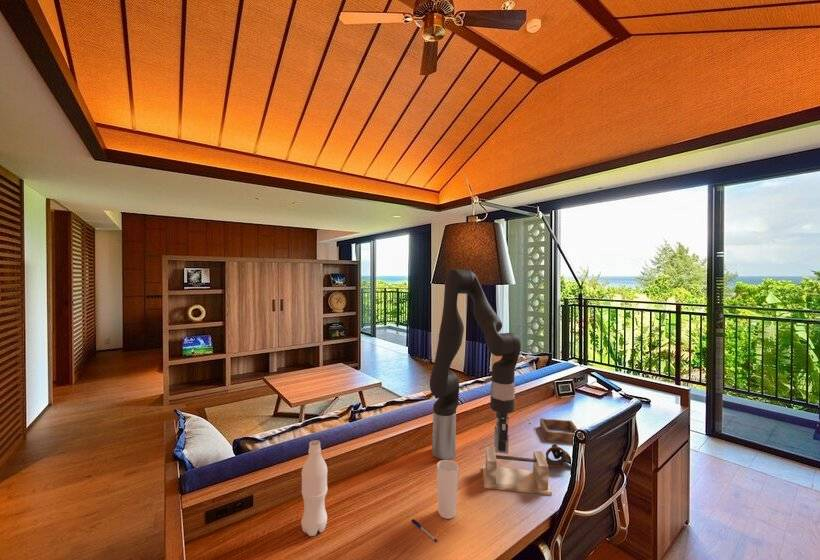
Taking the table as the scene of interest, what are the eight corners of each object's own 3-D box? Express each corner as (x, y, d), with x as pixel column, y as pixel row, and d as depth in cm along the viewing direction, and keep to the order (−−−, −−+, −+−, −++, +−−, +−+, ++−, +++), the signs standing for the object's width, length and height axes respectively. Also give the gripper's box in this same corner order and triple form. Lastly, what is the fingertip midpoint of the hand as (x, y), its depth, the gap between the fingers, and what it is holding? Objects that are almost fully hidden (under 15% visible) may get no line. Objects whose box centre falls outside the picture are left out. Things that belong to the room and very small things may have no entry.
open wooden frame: (546, 440, 154) (546, 431, 154) (539, 426, 168) (539, 418, 168) (581, 443, 152) (581, 434, 152) (571, 429, 166) (571, 420, 166)
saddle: (495, 452, 112) (495, 433, 111) (494, 444, 117) (494, 426, 116) (508, 453, 111) (508, 434, 111) (506, 446, 116) (507, 427, 116)
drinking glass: (443, 503, 112) (444, 456, 111) (462, 512, 108) (463, 464, 107) (431, 514, 107) (432, 466, 106) (450, 525, 102) (451, 474, 102)
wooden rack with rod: (484, 487, 120) (484, 462, 120) (482, 468, 132) (483, 444, 132) (551, 495, 117) (552, 468, 116) (543, 474, 128) (544, 450, 128)
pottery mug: (579, 475, 129) (571, 458, 127) (554, 483, 131) (547, 467, 129) (566, 450, 141) (559, 435, 139) (544, 458, 142) (536, 443, 140)
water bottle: (329, 520, 104) (330, 436, 103) (324, 538, 96) (324, 449, 96) (304, 520, 103) (305, 436, 103) (298, 539, 96) (298, 449, 96)
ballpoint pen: (410, 522, 104) (410, 518, 104) (413, 520, 104) (413, 517, 104) (436, 543, 96) (436, 539, 96) (438, 541, 96) (438, 537, 96)
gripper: (489, 386, 121) (488, 435, 121) (492, 402, 107) (490, 457, 107) (511, 388, 120) (510, 437, 120) (517, 404, 105) (515, 459, 106)
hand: (501, 446), depth 114 cm, fingers closed on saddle, 5 cm apart
